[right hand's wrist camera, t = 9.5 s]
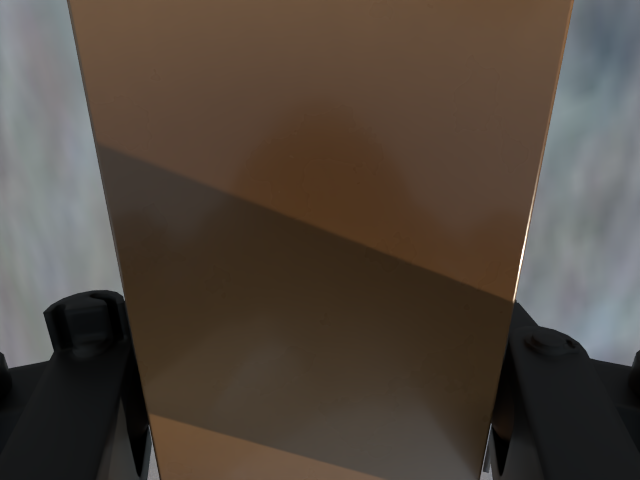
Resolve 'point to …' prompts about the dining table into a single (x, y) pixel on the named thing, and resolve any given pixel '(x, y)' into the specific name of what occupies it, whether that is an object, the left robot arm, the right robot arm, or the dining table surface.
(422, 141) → the bar
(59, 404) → the right robot arm
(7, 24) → the dining table surface
